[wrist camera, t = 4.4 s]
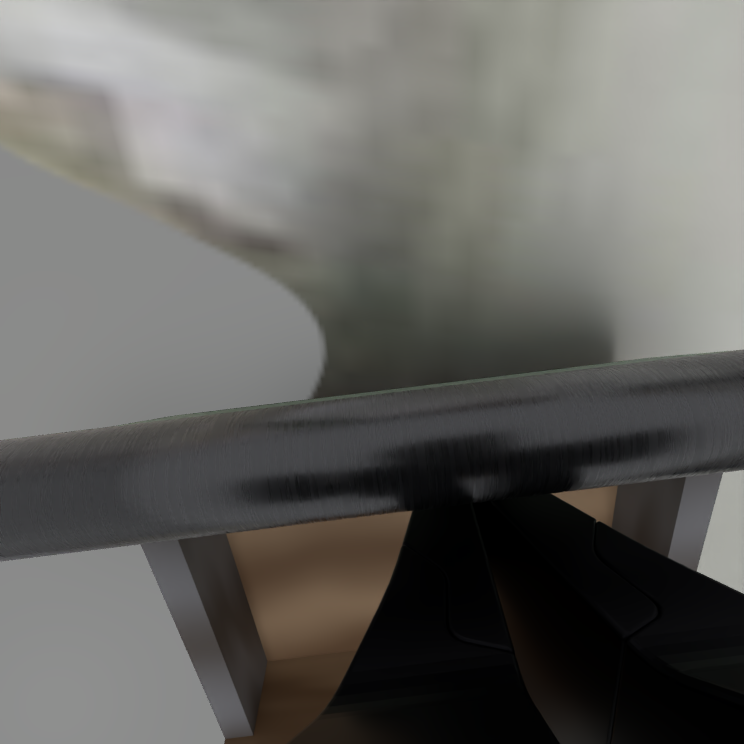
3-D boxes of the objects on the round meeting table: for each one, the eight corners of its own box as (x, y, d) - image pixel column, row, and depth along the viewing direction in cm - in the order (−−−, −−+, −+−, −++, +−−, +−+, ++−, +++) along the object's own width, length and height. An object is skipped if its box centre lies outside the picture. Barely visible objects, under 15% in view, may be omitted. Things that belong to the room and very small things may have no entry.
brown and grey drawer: (595, 598, 22) (698, 759, 15) (257, 640, 22) (217, 819, 15) (627, 374, 17) (801, 473, 10) (188, 427, 17) (84, 561, 10)
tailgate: (655, 394, 15) (1270, 424, 5) (175, 453, 15) (-255, 612, 5) (649, 352, 15) (1247, 291, 5) (171, 410, 15) (-266, 475, 5)
